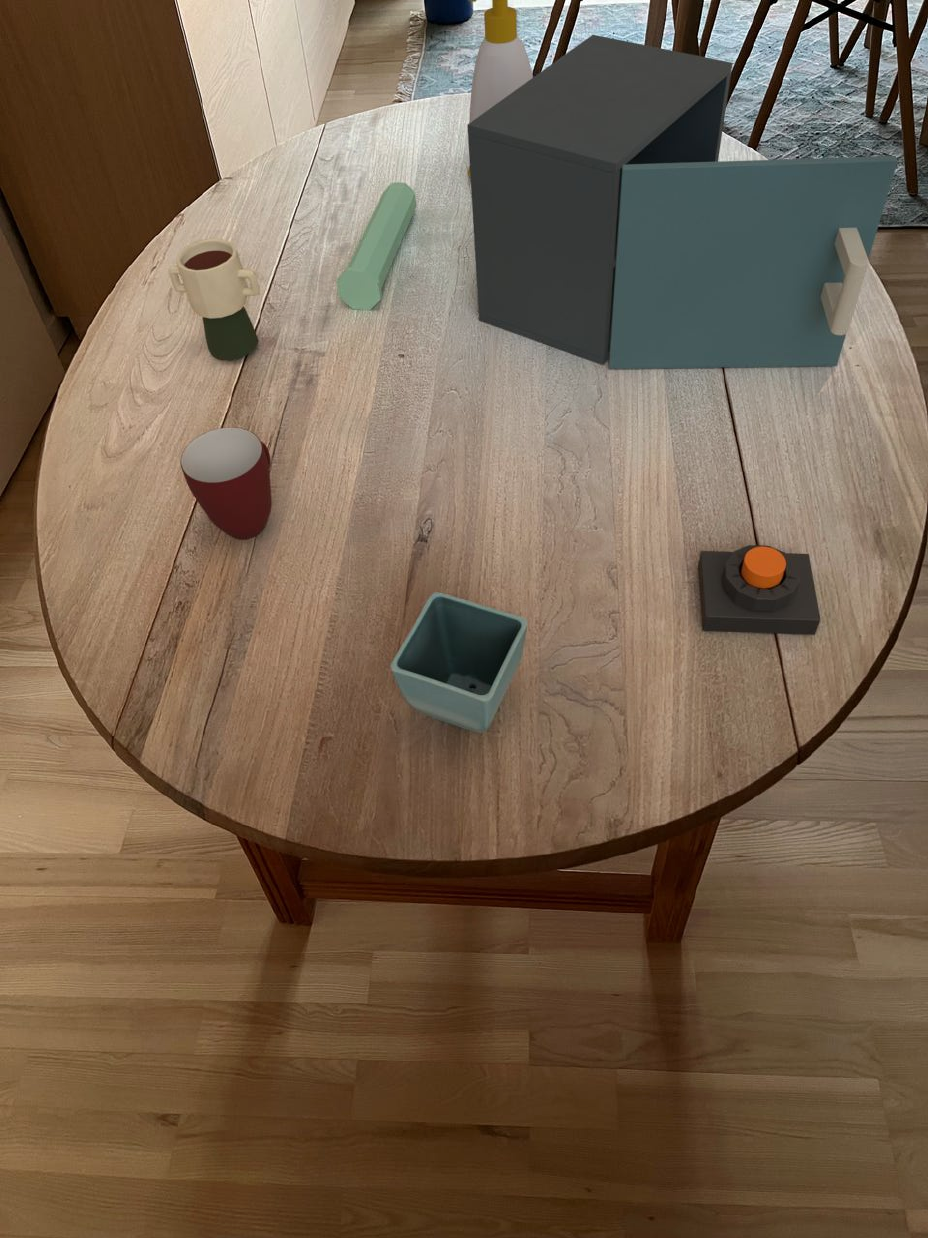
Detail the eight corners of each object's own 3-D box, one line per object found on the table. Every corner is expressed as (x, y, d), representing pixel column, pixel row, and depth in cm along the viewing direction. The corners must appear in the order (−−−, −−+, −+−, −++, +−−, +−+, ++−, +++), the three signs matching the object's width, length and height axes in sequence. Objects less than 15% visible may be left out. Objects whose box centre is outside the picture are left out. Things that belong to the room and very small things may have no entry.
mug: (233, 479, 103) (208, 407, 96) (302, 487, 102) (282, 414, 94) (196, 549, 97) (166, 478, 89) (269, 559, 96) (245, 487, 88)
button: (779, 559, 87) (783, 546, 85) (784, 589, 84) (788, 576, 83) (739, 558, 87) (742, 545, 86) (742, 588, 85) (746, 575, 83)
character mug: (284, 335, 120) (260, 239, 109) (267, 370, 115) (240, 273, 105) (204, 330, 121) (173, 235, 111) (184, 364, 117) (150, 269, 107)
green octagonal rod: (388, 166, 132) (341, 261, 117) (427, 183, 133) (386, 280, 118) (377, 203, 137) (331, 300, 122) (416, 219, 138) (374, 317, 123)
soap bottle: (451, 180, 141) (435, -21, 121) (499, 149, 146) (492, -49, 126) (510, 202, 136) (504, -5, 116) (558, 168, 141) (560, -35, 121)
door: (848, 404, 104) (914, 197, 86) (610, 407, 107) (625, 205, 88) (835, 360, 109) (895, 155, 91) (608, 363, 112) (622, 164, 93)
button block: (804, 568, 90) (813, 540, 87) (815, 635, 86) (825, 607, 82) (697, 565, 92) (703, 537, 88) (702, 631, 87) (708, 603, 84)
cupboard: (703, 259, 124) (732, 62, 105) (603, 365, 112) (615, 163, 93) (585, 224, 131) (592, 34, 112) (478, 320, 119) (467, 124, 100)
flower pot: (531, 679, 85) (530, 617, 78) (493, 760, 80) (489, 702, 73) (442, 651, 87) (433, 589, 80) (400, 727, 82) (387, 668, 75)
